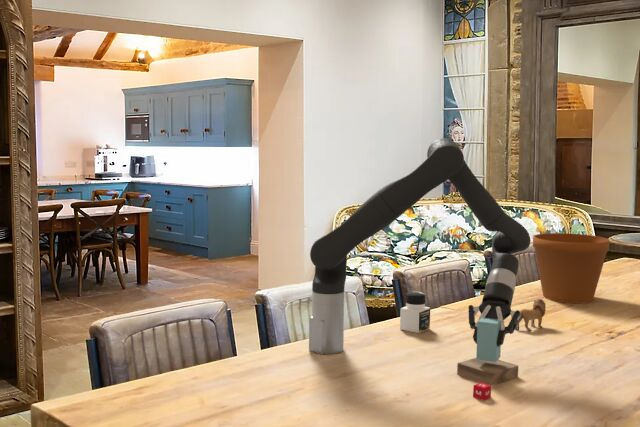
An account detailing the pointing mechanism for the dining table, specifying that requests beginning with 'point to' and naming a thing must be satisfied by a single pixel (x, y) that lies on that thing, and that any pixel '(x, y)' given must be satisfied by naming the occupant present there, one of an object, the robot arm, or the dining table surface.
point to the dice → (482, 391)
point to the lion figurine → (533, 314)
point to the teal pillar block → (488, 339)
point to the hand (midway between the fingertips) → (487, 343)
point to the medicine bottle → (415, 313)
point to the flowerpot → (569, 265)
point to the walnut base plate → (487, 371)
